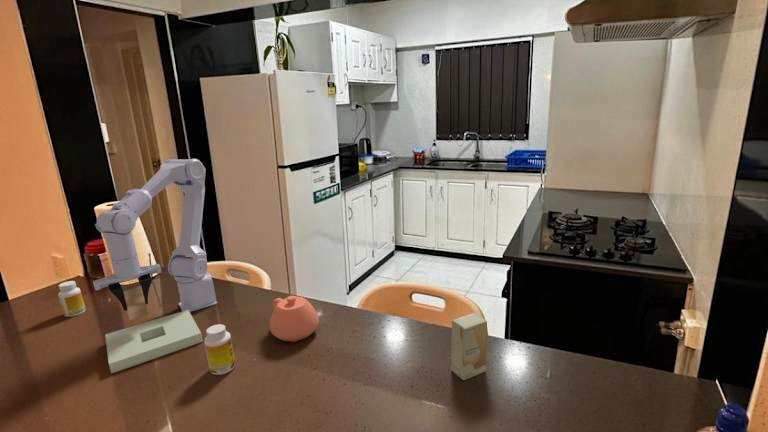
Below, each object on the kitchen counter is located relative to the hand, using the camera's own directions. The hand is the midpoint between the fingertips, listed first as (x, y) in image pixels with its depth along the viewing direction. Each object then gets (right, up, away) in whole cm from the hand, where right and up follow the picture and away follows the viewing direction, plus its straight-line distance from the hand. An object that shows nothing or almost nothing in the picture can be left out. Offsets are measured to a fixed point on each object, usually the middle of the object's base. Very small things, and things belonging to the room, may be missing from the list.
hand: (135, 306), depth 107 cm
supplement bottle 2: (+27, -12, -12) cm, 32 cm away
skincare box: (+82, -10, -17) cm, 84 cm away
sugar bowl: (+40, -7, +2) cm, 41 cm away
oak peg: (0, -2, +1) cm, 2 cm away
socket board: (+5, -9, 0) cm, 11 cm away
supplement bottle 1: (-29, -6, +19) cm, 35 cm away
